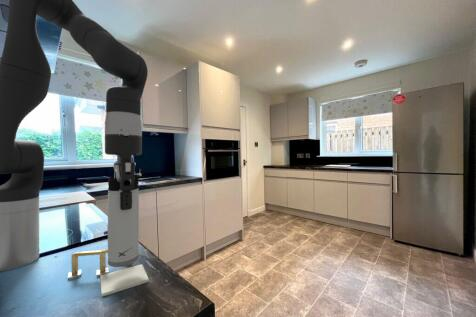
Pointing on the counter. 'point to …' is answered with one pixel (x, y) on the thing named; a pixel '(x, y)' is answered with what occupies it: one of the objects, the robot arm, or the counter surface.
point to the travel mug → (122, 226)
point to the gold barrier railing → (102, 253)
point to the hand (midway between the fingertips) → (124, 206)
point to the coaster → (123, 279)
